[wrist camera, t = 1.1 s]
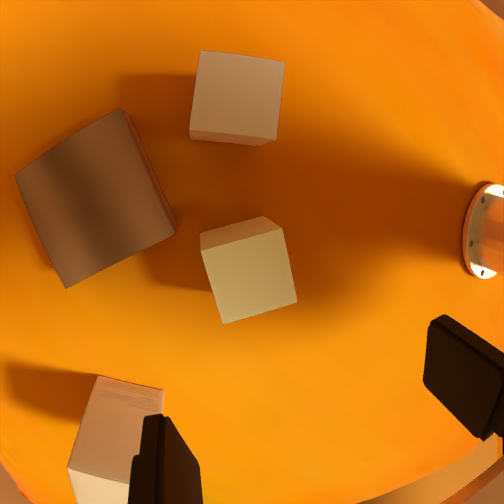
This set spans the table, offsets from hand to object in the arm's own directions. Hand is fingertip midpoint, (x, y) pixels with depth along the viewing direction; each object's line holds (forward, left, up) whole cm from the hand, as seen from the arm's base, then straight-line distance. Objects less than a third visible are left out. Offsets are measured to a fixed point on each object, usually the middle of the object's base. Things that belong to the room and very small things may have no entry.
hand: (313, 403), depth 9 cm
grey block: (-2, -12, -18) cm, 22 cm away
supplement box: (+16, +13, -18) cm, 28 cm away
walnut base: (+10, -8, -18) cm, 22 cm away
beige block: (0, 0, -18) cm, 18 cm away
